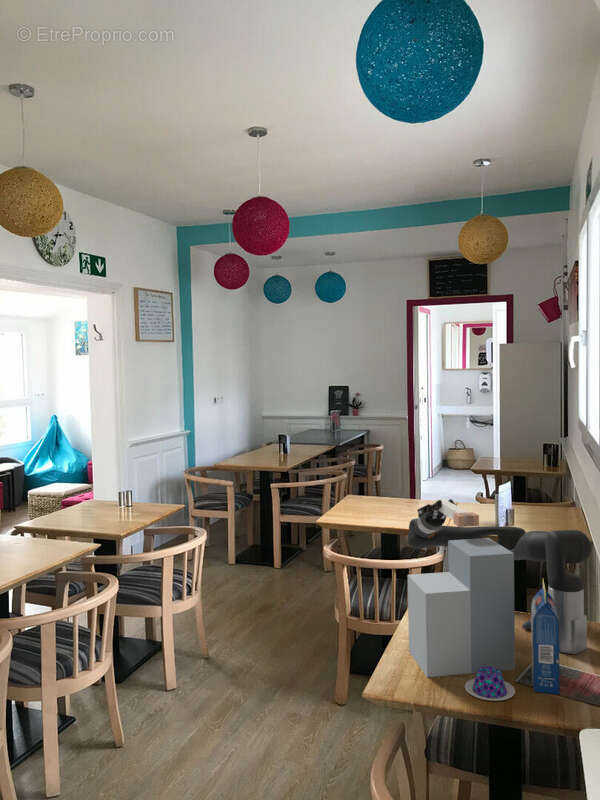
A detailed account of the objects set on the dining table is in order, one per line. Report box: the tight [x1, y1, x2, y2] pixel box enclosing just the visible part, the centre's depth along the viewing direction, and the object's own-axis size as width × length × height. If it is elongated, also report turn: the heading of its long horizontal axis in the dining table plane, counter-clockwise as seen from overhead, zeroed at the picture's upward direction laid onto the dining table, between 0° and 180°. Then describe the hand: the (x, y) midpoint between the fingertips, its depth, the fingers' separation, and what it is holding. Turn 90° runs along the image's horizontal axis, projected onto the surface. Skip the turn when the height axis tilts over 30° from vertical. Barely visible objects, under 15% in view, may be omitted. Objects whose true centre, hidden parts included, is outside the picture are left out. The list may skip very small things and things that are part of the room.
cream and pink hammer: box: [435, 498, 480, 527], centre depth 203 cm, size 24×6×3 cm, turn 8°
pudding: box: [464, 666, 516, 701], centre depth 168 cm, size 12×12×5 cm
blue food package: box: [530, 579, 560, 695], centre depth 170 cm, size 6×12×25 cm, turn 163°
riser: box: [407, 537, 516, 678], centre depth 184 cm, size 16×24×31 cm, turn 98°
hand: (446, 502), depth 209 cm, fingers closed on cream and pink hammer, 3 cm apart
